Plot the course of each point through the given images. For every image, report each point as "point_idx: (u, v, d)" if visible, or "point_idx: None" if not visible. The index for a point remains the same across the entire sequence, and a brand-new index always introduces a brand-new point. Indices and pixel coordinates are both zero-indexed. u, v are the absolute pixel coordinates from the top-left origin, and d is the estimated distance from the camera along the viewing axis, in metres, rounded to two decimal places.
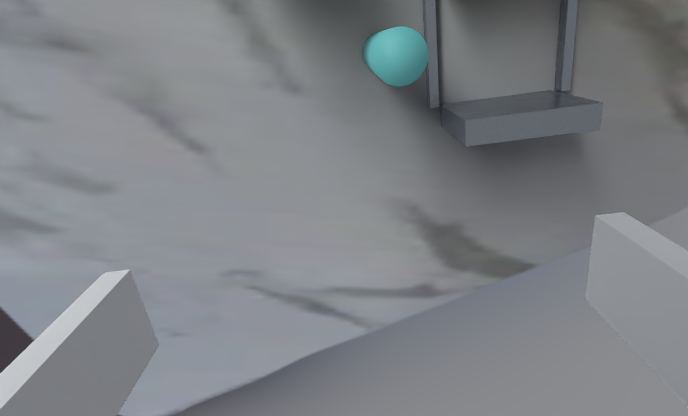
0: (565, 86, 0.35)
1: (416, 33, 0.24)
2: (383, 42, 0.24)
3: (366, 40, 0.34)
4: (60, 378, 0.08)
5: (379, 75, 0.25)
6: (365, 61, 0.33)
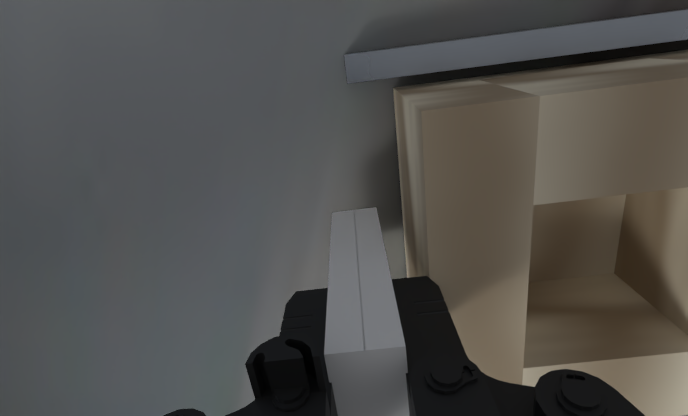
0: None
1: None
2: None
3: None
4: None
5: None
6: None
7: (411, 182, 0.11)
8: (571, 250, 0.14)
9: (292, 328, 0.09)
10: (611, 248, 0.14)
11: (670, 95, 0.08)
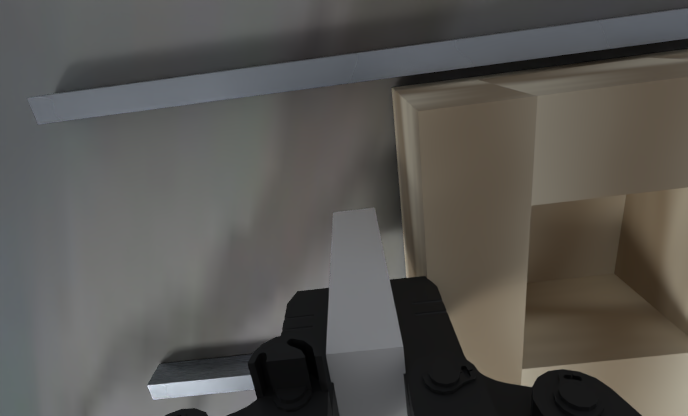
0: None
1: None
2: None
3: None
4: None
5: None
6: None
7: (409, 182, 0.11)
8: (571, 250, 0.14)
9: (294, 328, 0.09)
10: (611, 248, 0.14)
11: (669, 95, 0.08)
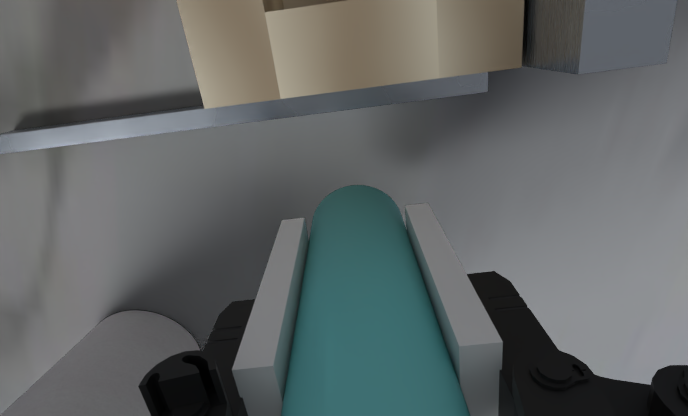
0: None
1: None
2: None
3: None
4: (297, 292, 0.10)
5: None
6: None
7: None
8: None
9: (219, 340, 0.09)
10: None
11: None
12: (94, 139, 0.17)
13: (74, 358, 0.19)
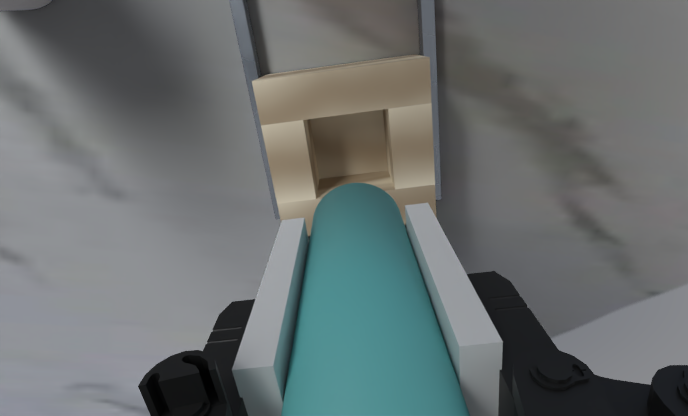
0: (435, 195, 0.29)
1: None
2: None
3: None
4: (297, 291, 0.10)
5: None
6: None
7: (384, 61, 0.24)
8: (332, 154, 0.28)
9: (219, 340, 0.09)
10: (333, 174, 0.29)
11: (428, 150, 0.24)
12: None
13: None
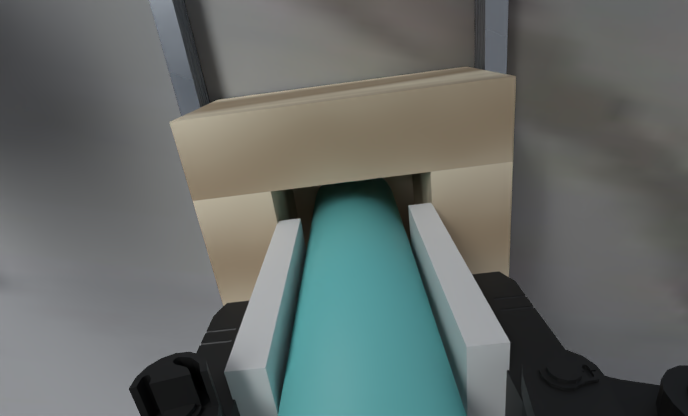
0: None
1: None
2: None
3: None
4: (291, 293, 0.10)
5: None
6: None
7: (419, 80, 0.13)
8: None
9: (212, 342, 0.09)
10: None
11: (499, 242, 0.13)
12: None
13: None
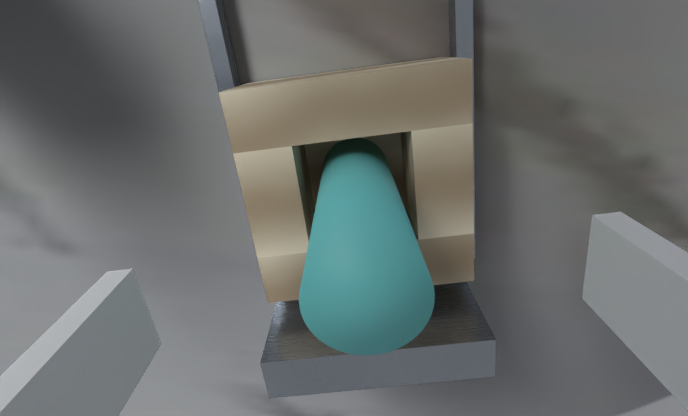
0: None
1: (313, 269, 0.10)
2: (334, 335, 0.10)
3: None
4: (64, 376, 0.08)
5: (406, 340, 0.10)
6: None
7: (404, 64, 0.17)
8: None
9: None
10: None
11: (465, 187, 0.17)
12: None
13: None
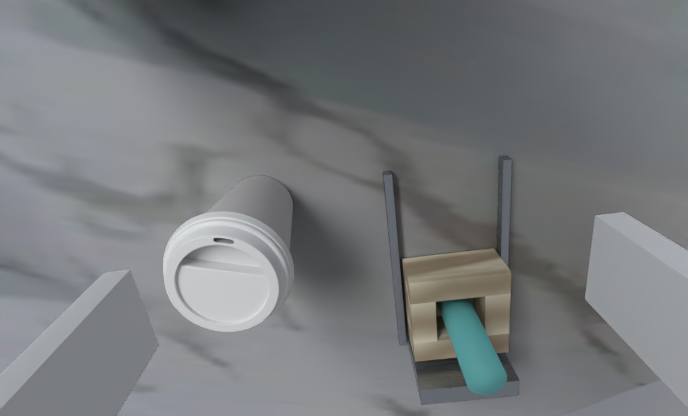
0: None
1: (472, 371, 0.33)
2: (475, 389, 0.34)
3: None
4: (60, 378, 0.08)
5: (497, 390, 0.34)
6: None
7: (480, 263, 0.41)
8: None
9: None
10: (438, 314, 0.46)
11: (506, 316, 0.41)
12: (388, 216, 0.41)
13: (289, 211, 0.38)
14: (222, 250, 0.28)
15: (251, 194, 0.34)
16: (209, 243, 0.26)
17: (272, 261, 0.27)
